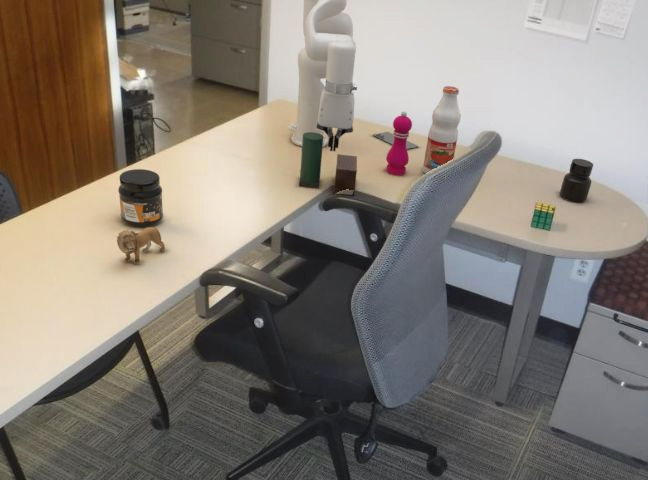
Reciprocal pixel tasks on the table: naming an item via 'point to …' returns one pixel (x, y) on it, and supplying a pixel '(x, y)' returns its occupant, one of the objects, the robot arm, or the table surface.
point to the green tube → (311, 160)
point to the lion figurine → (138, 242)
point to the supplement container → (140, 198)
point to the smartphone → (392, 139)
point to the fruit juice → (443, 130)
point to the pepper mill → (399, 146)
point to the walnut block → (345, 173)
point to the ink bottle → (577, 181)
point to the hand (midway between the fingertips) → (332, 149)
